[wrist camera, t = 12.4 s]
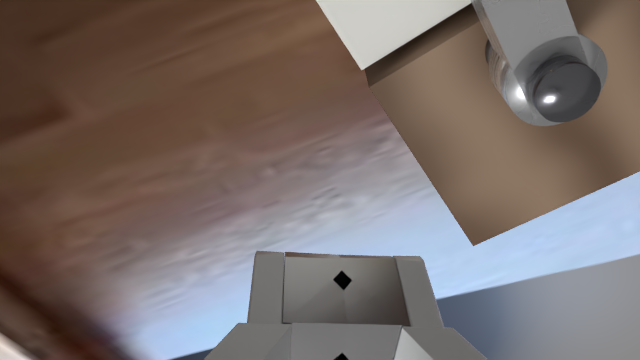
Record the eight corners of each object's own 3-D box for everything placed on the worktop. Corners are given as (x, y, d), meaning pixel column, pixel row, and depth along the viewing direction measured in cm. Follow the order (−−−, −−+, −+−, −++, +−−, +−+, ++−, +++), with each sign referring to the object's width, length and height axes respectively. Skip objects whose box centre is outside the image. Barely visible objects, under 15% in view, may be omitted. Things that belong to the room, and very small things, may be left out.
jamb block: (452, 194, 32) (479, 260, 27) (360, 48, 27) (371, 98, 22) (657, 93, 28) (732, 149, 23) (601, -105, 23) (685, -87, 18)
